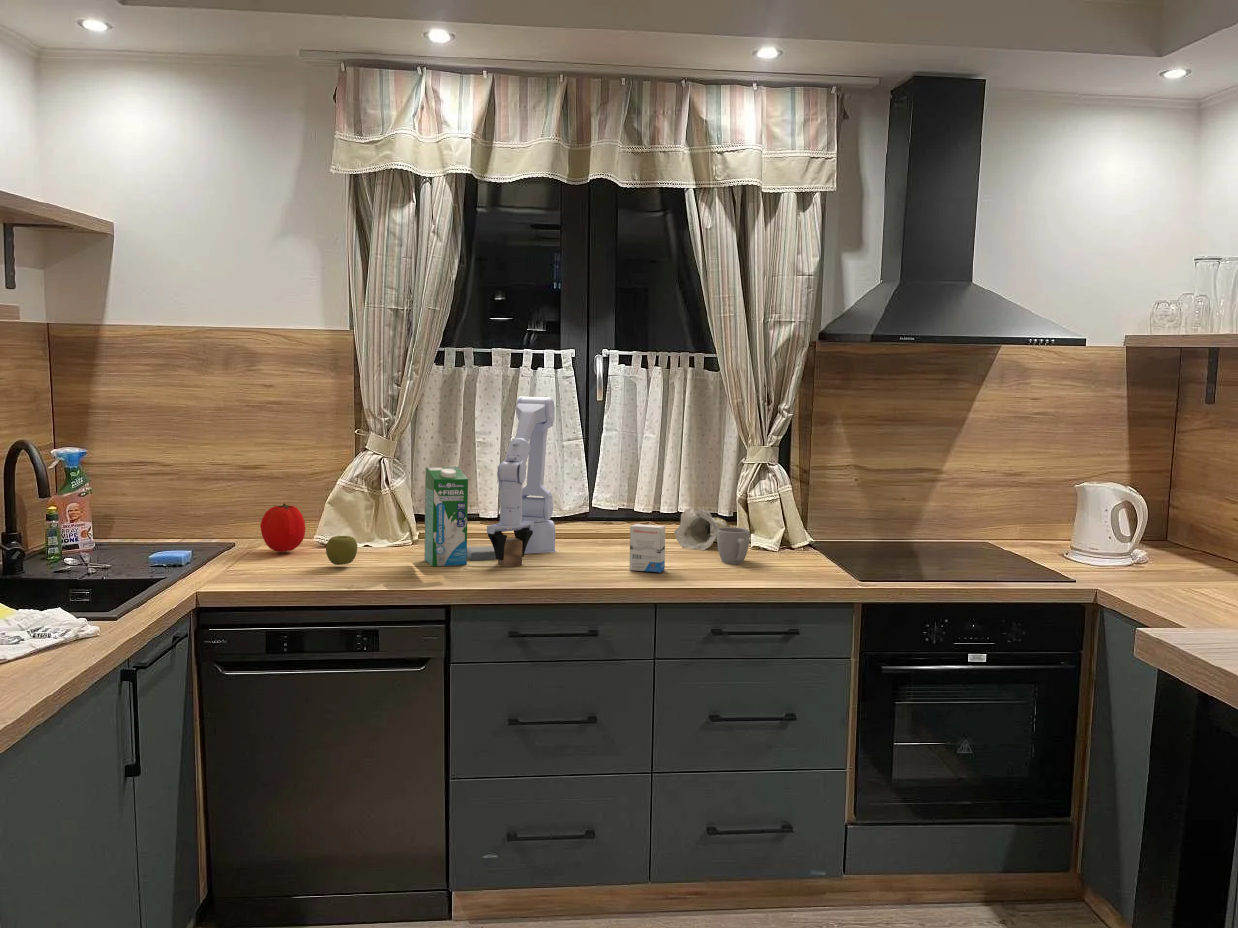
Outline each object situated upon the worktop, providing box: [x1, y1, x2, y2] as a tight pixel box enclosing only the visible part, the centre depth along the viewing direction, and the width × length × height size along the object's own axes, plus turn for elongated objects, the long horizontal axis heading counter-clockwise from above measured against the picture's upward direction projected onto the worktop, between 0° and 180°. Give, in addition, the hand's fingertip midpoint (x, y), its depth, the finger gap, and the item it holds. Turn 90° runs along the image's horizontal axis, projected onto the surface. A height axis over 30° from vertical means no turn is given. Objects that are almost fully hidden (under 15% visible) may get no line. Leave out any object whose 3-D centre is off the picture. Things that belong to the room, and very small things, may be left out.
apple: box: [325, 535, 358, 566], centre depth 239 cm, size 8×8×7 cm
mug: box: [717, 526, 751, 565], centre depth 252 cm, size 12×9×10 cm
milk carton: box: [424, 466, 469, 568], centre depth 244 cm, size 9×9×25 cm
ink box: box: [629, 523, 666, 573], centre depth 243 cm, size 9×5×12 cm, turn 71°
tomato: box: [260, 502, 306, 552], centre depth 254 cm, size 12×12×13 cm
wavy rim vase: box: [673, 507, 731, 551], centre depth 277 cm, size 12×13×18 cm
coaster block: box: [467, 545, 497, 562], centre depth 255 cm, size 9×9×3 cm
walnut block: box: [497, 537, 523, 567], centre depth 245 cm, size 5×5×6 cm
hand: (510, 558), depth 246 cm, fingers closed on walnut block, 6 cm apart
